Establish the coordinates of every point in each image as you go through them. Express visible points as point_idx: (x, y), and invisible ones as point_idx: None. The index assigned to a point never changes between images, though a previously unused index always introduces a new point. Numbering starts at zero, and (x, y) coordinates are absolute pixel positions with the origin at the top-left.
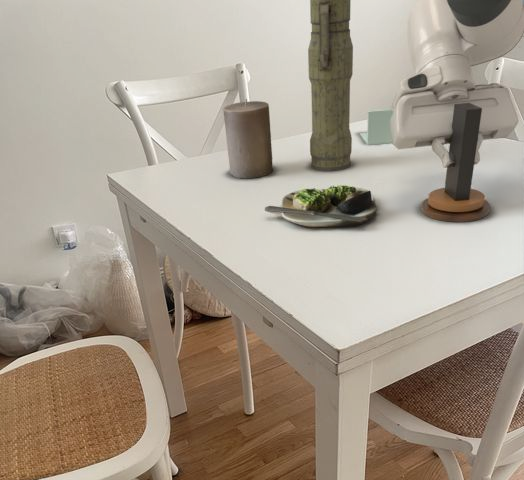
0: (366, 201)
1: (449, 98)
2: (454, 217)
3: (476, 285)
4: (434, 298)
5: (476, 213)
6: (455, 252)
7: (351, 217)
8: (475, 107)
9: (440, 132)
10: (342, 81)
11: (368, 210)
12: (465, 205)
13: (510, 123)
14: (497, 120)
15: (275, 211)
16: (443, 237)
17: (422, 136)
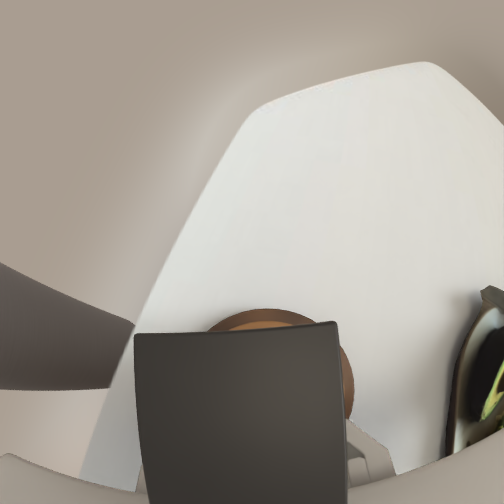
0: (493, 344)
1: None
2: (293, 312)
3: (315, 94)
4: (366, 84)
5: (235, 319)
6: (325, 173)
7: (502, 302)
8: (183, 420)
9: (386, 485)
10: None
11: (478, 341)
12: (264, 321)
13: (12, 465)
14: (45, 499)
15: None
16: (335, 236)
17: (468, 447)
